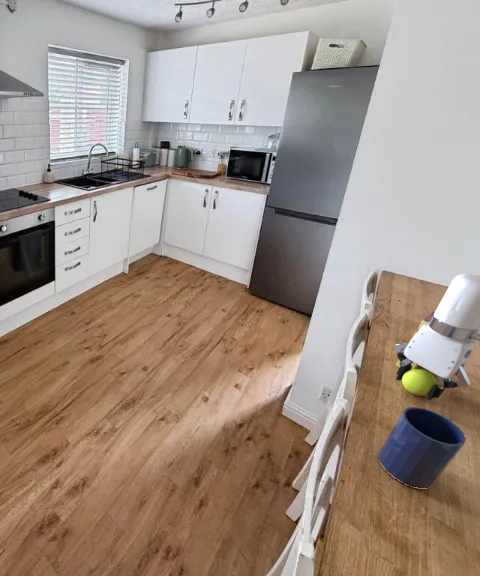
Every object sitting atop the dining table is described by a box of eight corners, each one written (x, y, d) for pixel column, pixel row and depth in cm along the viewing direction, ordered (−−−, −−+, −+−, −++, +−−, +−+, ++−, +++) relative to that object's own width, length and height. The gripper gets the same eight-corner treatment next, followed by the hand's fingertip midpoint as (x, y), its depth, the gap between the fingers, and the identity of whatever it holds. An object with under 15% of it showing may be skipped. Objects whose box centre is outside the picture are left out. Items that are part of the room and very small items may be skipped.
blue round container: (443, 480, 70) (476, 437, 64) (415, 497, 67) (447, 452, 61) (395, 444, 77) (421, 402, 71) (367, 457, 74) (392, 414, 68)
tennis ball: (435, 397, 90) (447, 377, 87) (419, 404, 88) (431, 383, 85) (407, 380, 96) (418, 361, 93) (391, 386, 93) (402, 366, 90)
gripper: (509, 346, 77) (465, 408, 86) (419, 306, 91) (389, 363, 100) (490, 353, 75) (447, 417, 83) (400, 311, 89) (371, 369, 97)
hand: (415, 387), depth 91 cm, fingers closed on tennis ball, 6 cm apart
